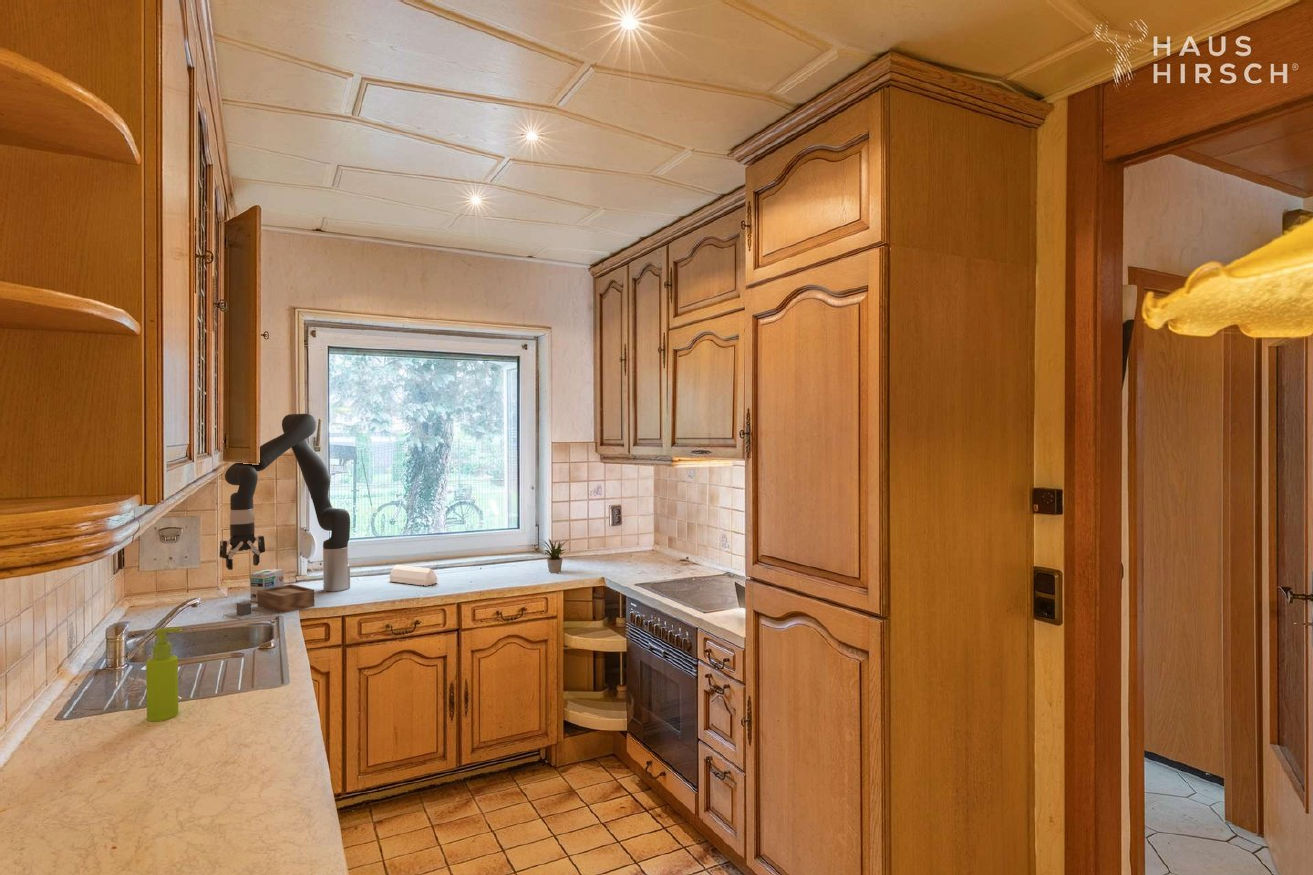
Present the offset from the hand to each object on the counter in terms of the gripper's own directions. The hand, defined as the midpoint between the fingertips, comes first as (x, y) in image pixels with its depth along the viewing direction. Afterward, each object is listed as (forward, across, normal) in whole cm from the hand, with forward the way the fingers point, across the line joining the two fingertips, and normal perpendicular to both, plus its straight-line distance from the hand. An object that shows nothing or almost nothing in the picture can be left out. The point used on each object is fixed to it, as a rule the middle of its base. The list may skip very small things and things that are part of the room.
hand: (243, 567), depth 250 cm
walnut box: (+17, -15, 0) cm, 23 cm away
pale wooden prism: (+18, -67, +5) cm, 69 cm away
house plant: (+18, -116, +39) cm, 124 cm away
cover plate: (+18, 0, 0) cm, 18 cm away
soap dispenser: (+16, +53, +80) cm, 97 cm away
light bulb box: (+17, -17, -18) cm, 30 cm away
